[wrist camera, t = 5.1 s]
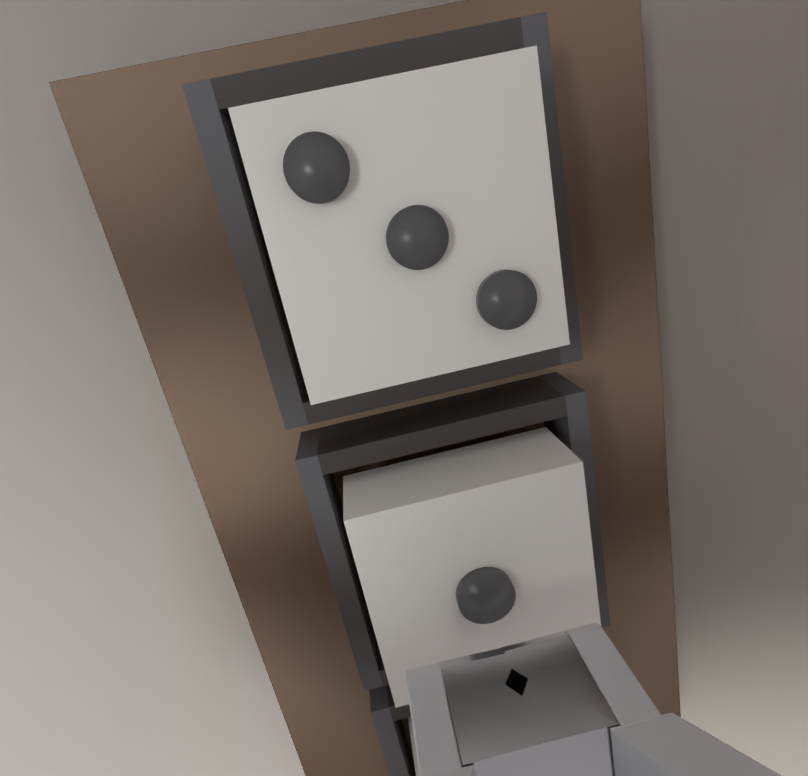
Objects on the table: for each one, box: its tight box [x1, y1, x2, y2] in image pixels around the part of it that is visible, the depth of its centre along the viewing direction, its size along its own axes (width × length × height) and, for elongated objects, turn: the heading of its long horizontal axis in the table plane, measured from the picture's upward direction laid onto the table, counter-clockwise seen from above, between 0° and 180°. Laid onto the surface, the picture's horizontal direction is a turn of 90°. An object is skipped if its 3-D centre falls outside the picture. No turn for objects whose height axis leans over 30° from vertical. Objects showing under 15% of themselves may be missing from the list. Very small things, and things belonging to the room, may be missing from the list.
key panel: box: [49, 0, 681, 776], centre depth 12 cm, size 19×10×3 cm, turn 12°
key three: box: [228, 45, 570, 405], centre depth 8 cm, size 4×4×2 cm
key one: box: [343, 427, 601, 708], centre depth 10 cm, size 4×4×2 cm
